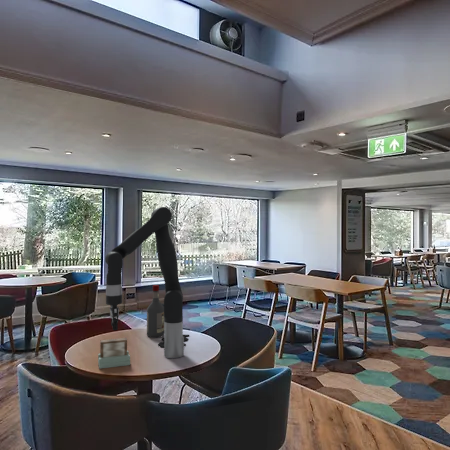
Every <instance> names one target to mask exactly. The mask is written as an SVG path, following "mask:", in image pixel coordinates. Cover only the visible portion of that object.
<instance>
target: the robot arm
mask: <svg viewBox="0 0 450 450" xmlns="http://www.w3.org/2000/svg"><path fill="white" fill-rule="evenodd" d="M172 218H173V213H172V211H171V210H170V209H169V208H168V207H166V206H165V207H164V206H160V207H158V208H155V209H154V210H153V211H152V212H151V215H150V218H149V219H148V220H147V221H146V222H145V223H144V224H143V225H141V226H140V227H139V228H138V229H136V230H135V231H133V232H132V233H130V234H129V235H128V236H127V237H126V238H125V239H123V241H122V242H121V243H119V245H117V246H116V247H114V248H113V249H112V250H110V251H109V252H108V253H107V254H106V256H105V259H104V261H105V263H106V264H107V273H106V276H105V277H106V280H105V281H106V282H105V284H106V287H105V304H106V305H108V306H110V307H109V315H110V319H111V320H110V322H111V323H110V324H111V327H112V331H118V330H119V329H118V328H119V327H118V325H119V324H118V323H119V317H120V315H119V314H120V308H119V305H121V304H122V303H123V285H122V284H123V281H122V280H123V279H122V278H123V277H122V272H123V265H124V263H123V260H124V259H125V258H126V257H127V256H128V255H132V254H133V252H135V251H136V250H137V249H138V248H139V247H140V246H141V245H143V243H144V242H145V241H146V240H147V239H149V238H150V236H152V235H153V234H154V237H155V243H156V250H157V251H156V252H157V253H156V254H157V259H158V265H159V268H160V269H159V270H160V271H161V275H162V277H163V281H164V288H165V289H164V290H165V295H164V296H163V297H164V299H163V306H164V335H163V337H164V341H163V342H164V348H163V354H164V355H163V356H164V357H165V358H168V359H178V358H181V357H184V356H185V355H184V354H185V353H184V352H185V347H184V343H185V342H184V337H183V335H184V331H183V329H184V326H183V324H184V323H183V322H184V316H183V313H184V311H183V303H184V302H183V300H184V295H183V291H182V287H181V284H180V280H179V267H178V266H179V265H178V259H177V252H176V248H175V245H174V243H173V239H172V238H171V235H170V231H169V223H170V222H171V220H172Z"/></svg>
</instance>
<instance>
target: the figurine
mask: <svg viewBox="0 0 450 450" xmlns="http://www.w3.org/2000/svg"><path fill="white" fill-rule="evenodd" d="M183 337H184V346H185V347H186V345H187V343H186V342H188V341H189V337H190V334H183ZM160 340H161V342H159V343H158V344H157V346H158V347H159V346H160V347H159V348H161V349H164V336H162V337H161V338H160Z"/></svg>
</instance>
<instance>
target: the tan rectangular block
mask: <svg viewBox="0 0 450 450" xmlns="http://www.w3.org/2000/svg"><path fill="white" fill-rule="evenodd" d="M99 345H100V352H99V354H100V358H103V357H112V356H121V355H127V351H128V339H127V337H121V338H119V337H118V338H111V339H101V340H100V342H99Z"/></svg>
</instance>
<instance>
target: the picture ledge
mask: <svg viewBox="0 0 450 450" xmlns="http://www.w3.org/2000/svg"><path fill="white" fill-rule="evenodd" d="M97 357H98V358H97V363H98V369H99V370H101V369H107V368H108V369H109V368H116V367H123V366H124V367H125V366H130V365H131V355H130V354H129V350H127V355H121V356H112V357H103V358H100V353H98V354H97Z"/></svg>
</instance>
